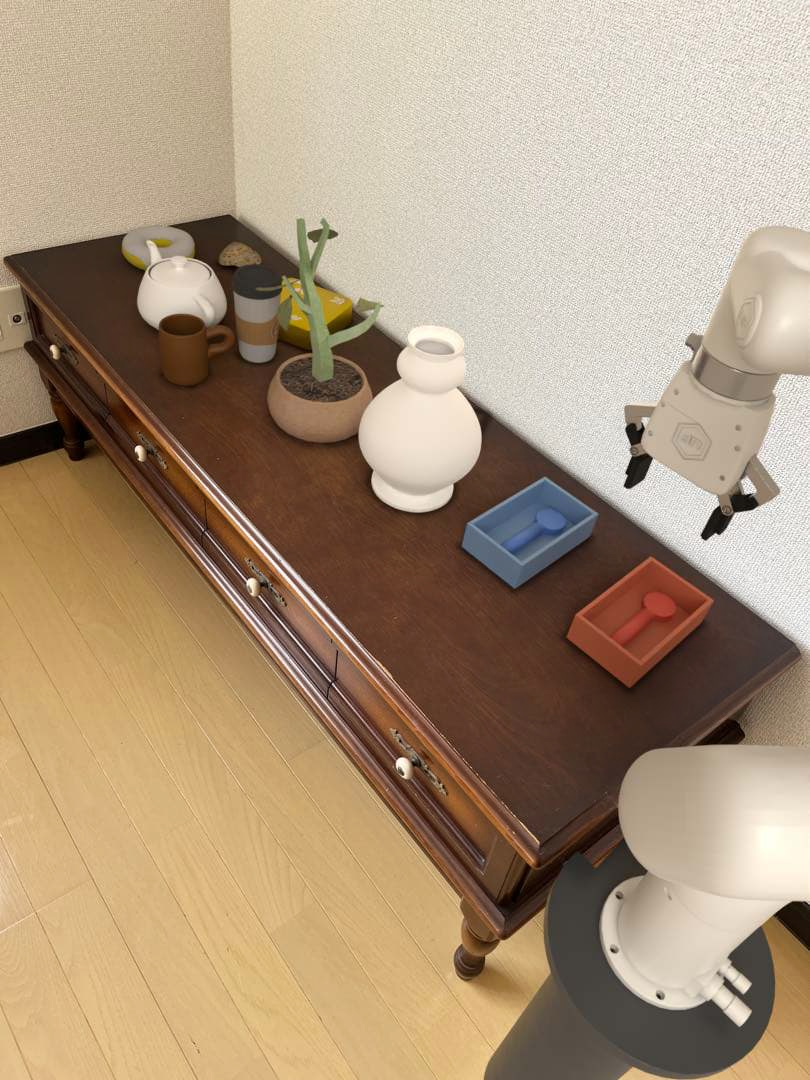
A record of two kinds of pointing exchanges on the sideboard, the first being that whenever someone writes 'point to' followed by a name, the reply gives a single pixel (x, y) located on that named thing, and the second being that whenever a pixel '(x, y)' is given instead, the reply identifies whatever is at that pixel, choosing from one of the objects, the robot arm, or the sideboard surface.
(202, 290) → the teapot
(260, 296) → the coffee cup
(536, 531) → the blue spoon
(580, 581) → the sideboard surface
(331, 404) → the potted plant
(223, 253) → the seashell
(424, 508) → the decorative vase
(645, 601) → the red spoon
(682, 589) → the red bin
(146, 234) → the donut
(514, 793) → the sideboard surface
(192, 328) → the mug
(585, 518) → the blue bin
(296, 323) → the element tile
